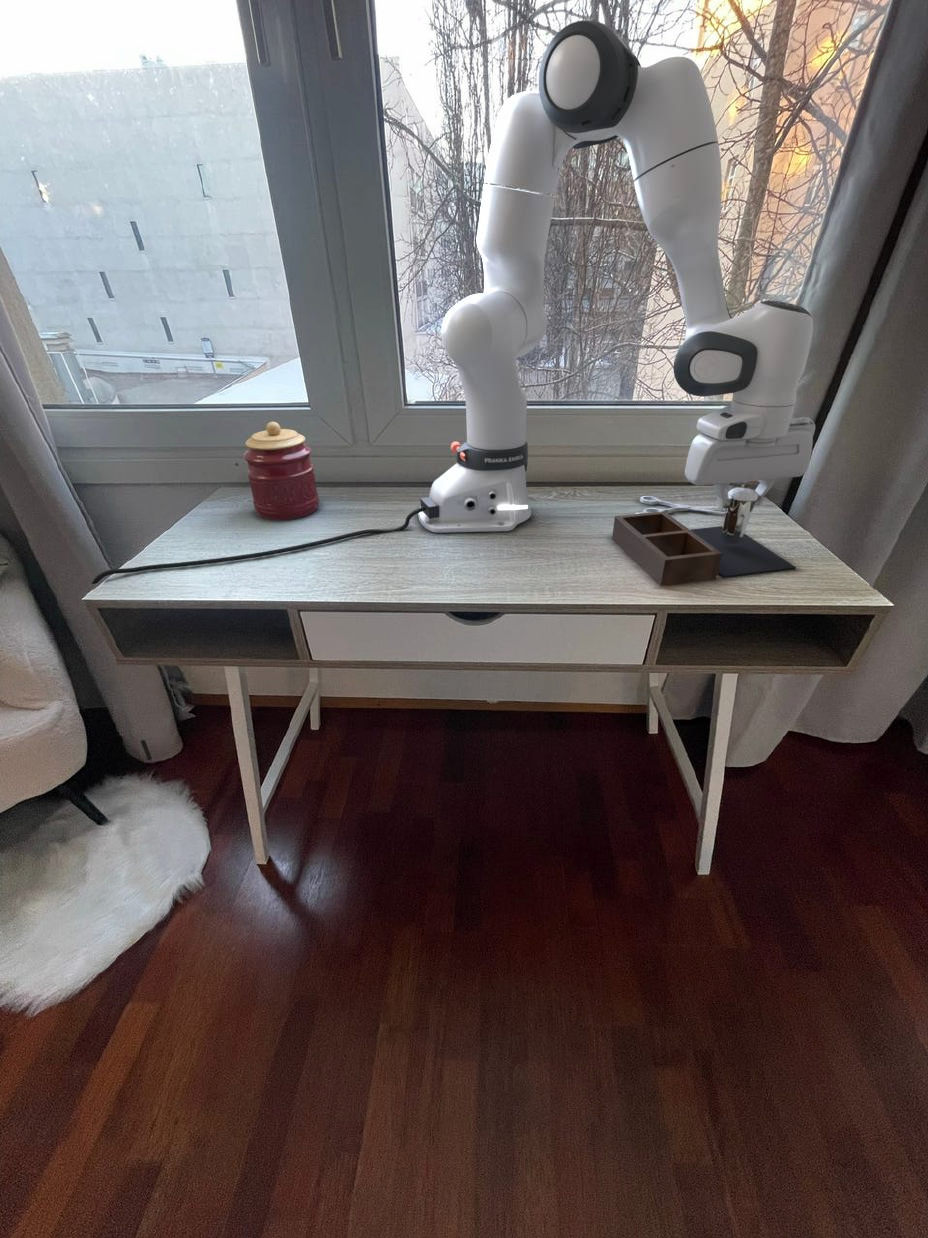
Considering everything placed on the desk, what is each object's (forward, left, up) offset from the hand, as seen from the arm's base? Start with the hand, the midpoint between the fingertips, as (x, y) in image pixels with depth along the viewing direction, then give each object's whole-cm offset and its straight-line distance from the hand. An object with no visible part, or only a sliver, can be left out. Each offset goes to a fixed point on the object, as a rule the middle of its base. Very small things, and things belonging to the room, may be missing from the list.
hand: (738, 505), depth 98 cm
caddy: (-13, -1, -8) cm, 15 cm away
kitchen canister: (-76, +39, -8) cm, 86 cm away
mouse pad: (0, -1, -8) cm, 8 cm away
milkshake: (0, 0, -6) cm, 6 cm away
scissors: (+2, +18, -8) cm, 20 cm away
